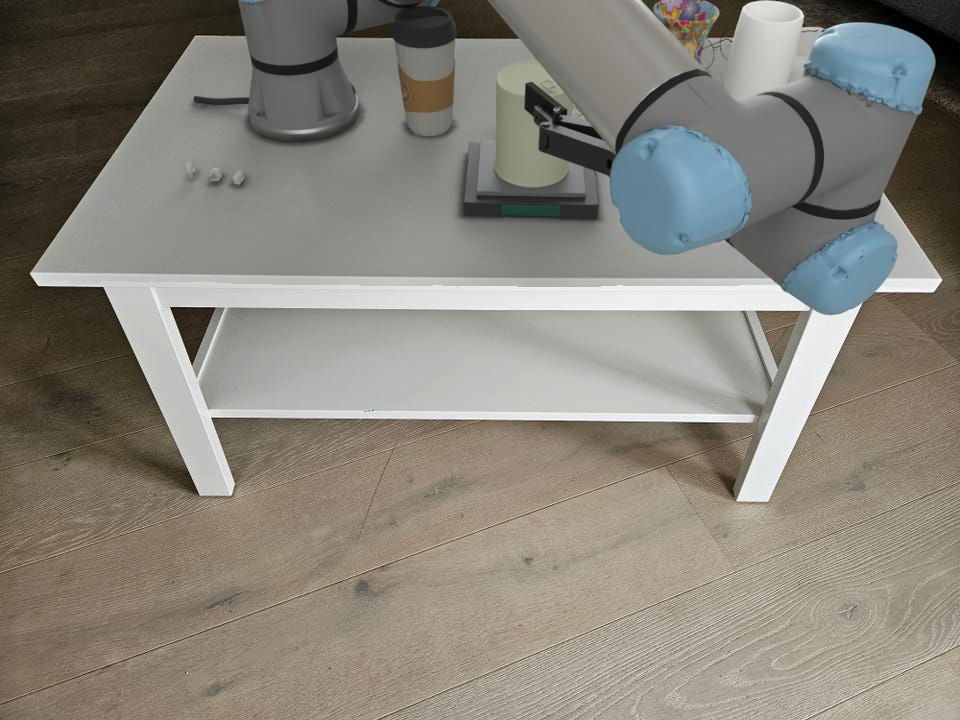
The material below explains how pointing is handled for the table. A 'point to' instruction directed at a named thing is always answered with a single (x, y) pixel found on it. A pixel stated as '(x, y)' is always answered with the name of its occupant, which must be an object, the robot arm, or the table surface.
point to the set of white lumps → (215, 173)
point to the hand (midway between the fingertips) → (585, 80)
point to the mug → (688, 22)
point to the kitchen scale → (526, 191)
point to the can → (524, 128)
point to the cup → (762, 48)
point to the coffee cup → (426, 67)
